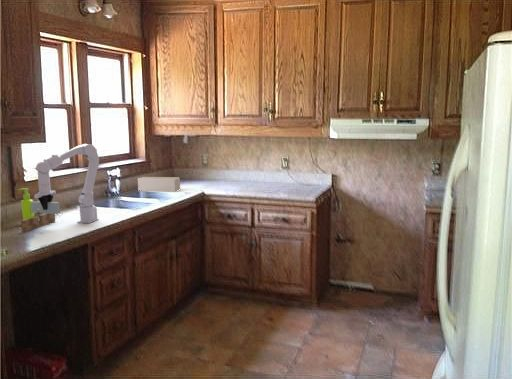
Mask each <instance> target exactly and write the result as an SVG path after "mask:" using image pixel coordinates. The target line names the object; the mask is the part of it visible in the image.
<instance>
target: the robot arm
mask: <svg viewBox="0 0 512 379" xmlns="http://www.w3.org/2000/svg"><path fill="white" fill-rule="evenodd" d="M76 155H83V156H84V157H85V158H86V160H88V166H87V170H86V175H85V179H84V184H83V188H82V189H81V192H80V194H79V196H78V197H77V201H78V203H79V215H80V217H79V218H80V220H79V221H77V223H79V224H80V223H85V224H91V223H93V222H95V221H96V222H97V221H98V220H99V218H98V210H97V206H95V205H94V203H95V199H94V187H95V182H96V177H97V173H98V168H99V164H100V157H99V154H98V149H97V148H96V147H95V145H93V144H90V143H89V144H87V143H82V144H80V145H77V146H75V147H73V148H70V149H69V150H68V151H65V152H64V153H62V154H60V155H59V154H52V155H51V157H49V158H47V159H43V161H40V162H38V163H37V164H36V166H35V169H36V171H37V183H38V192H37V193H35V194H34V199H37V200H38V202H40V203H41V205H42V207H43V210H47V208H48V202H53V199H54V195H56V194H57V192H56V190H54V189H53V190H52V189H51V188H52V187H51V179H50V177H51V176H50V171H51V170H53V169H55V168H57V167H59V166H60V165H62V164H63V162H64V161H65V160H68V159H70V158H72V157H74V156H76Z"/></svg>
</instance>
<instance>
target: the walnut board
mask: <svg viewBox="0 0 512 379" xmlns="http://www.w3.org/2000/svg"><path fill="white" fill-rule="evenodd" d="M54 223H56V214H50V213H41V214H39V215H38V216H34V217H32V218H29V219H25V220H23V219H22V220H20V225H21V233H27V232H30V231H32V230H36V229H39V228H41V227H45V226H48V225H50V224H54Z"/></svg>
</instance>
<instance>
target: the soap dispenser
mask: <svg viewBox="0 0 512 379" xmlns="http://www.w3.org/2000/svg"><path fill="white" fill-rule="evenodd" d="M29 189H30V188H29V187H25V188H24V187H23V188H18V189H17V191H23V192H24V193H23V194H22V196H23V199H22V200H20V202H21V214H22V220H25V219H29V218H32V217H35V213H32V211H31V202H34V200H33V199H31V193H29Z"/></svg>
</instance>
